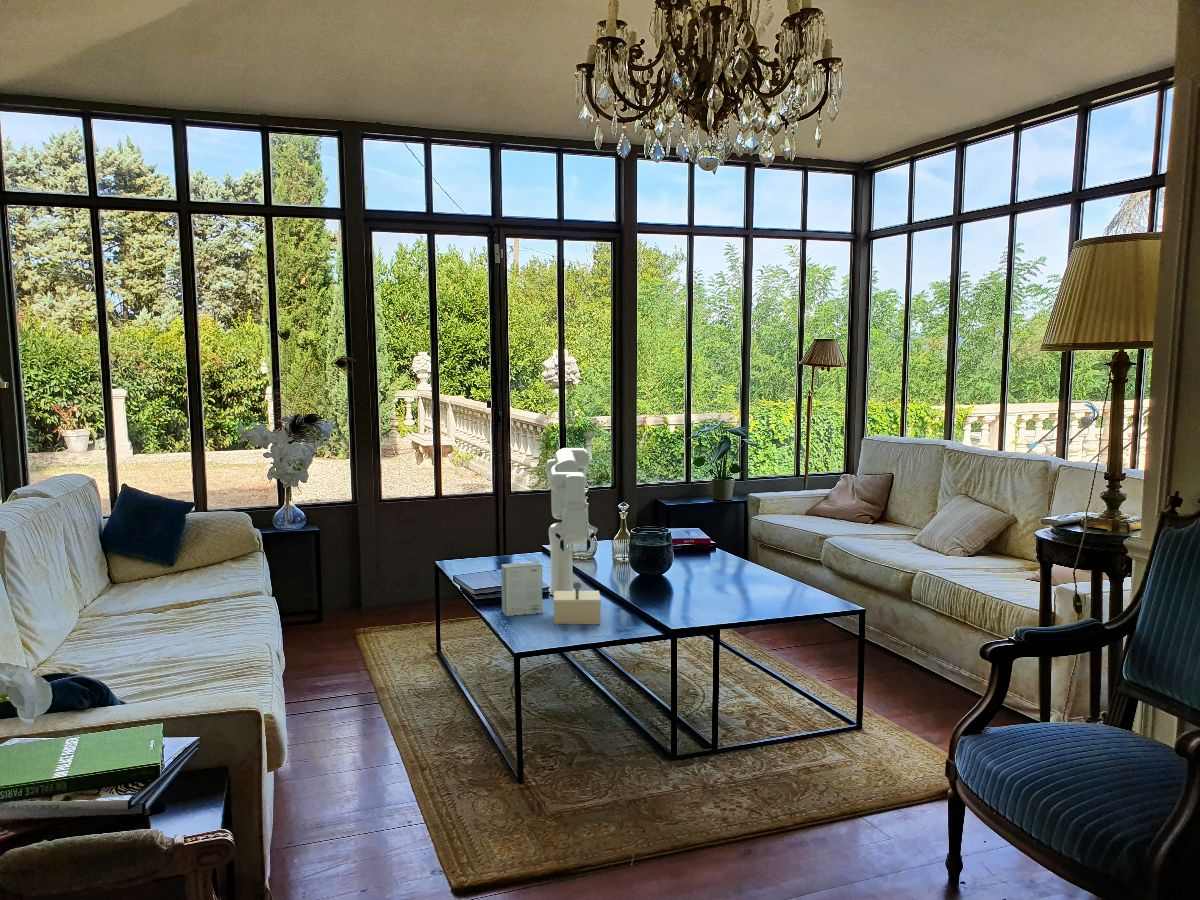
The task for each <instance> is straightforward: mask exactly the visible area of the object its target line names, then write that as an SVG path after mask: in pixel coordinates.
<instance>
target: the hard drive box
mask: <svg viewBox="0 0 1200 900" xmlns="http://www.w3.org/2000/svg"><path fill="white" fill-rule="evenodd" d="M500 567H501V568H500V569H501V570H500V573H501V575H500V577H501V609H502V610H501V612H502V613H504V614H503V615H504V616H505V617H515V616H514V615H517V616H524V614H526V615H537V614H536V613H538V614H543V613H542V612H544V611H543V565H542V564H541V563H540V562H539V561H526V562H525V561H524V562H515V563H504V564H503V563H502V564H501V565H500Z"/></svg>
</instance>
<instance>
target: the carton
mask: <svg viewBox="0 0 1200 900" xmlns="http://www.w3.org/2000/svg"><path fill="white" fill-rule="evenodd" d="M601 602H602V601H601ZM601 602H554V601H553V625H554V624H602V623H601V620H602V619H601V611H602V609H601V607H602V606H601Z"/></svg>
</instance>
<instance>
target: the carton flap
mask: <svg viewBox="0 0 1200 900" xmlns="http://www.w3.org/2000/svg"><path fill="white" fill-rule="evenodd" d="M581 588H582V584H581V582H580V581H575V582H574V583H572V589H574V590H575V591H554V596H553V603H554V602H602V601H601V594H600V590H580V589H581Z"/></svg>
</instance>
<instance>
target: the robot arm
mask: <svg viewBox="0 0 1200 900" xmlns="http://www.w3.org/2000/svg"><path fill="white" fill-rule="evenodd" d="M589 465H590V455H589V452H588V450H587V449H585V448H582V447H563V448H561V449H558V450H557V451H556V452H555V454H554V458H550V459H548V460H547V461H546V462H545V473H546V478H547V480H548V483H549V485H550V491H551V493H550V497H551V498H550V499H551V500H550V503H551V516H552V518H554V519H556V520H561V521H560V522H556V523H555V522H554V523H552V524H550V526H549V527H548V537H549V538H548V539H549V547H550V589H551V591H550V594H552V595H554V591H576V590H575V589H574V588H573V552H572V550H571V549H570V548H569V547H568V546H567V545H580V544H581V545H582V544H586V551H587V552H588V551H589V550H590V549H591V541H592V539H594V537H595V536H596V534H597V532H598V530H599V529H598V527H596V526H594V525H592V524H589V505H590V503H588V502H587V500H586V487H587V485H588V478H587V476H586V473H587V471H588V469H589ZM589 530H592V533H589V532H590V531H589Z"/></svg>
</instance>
